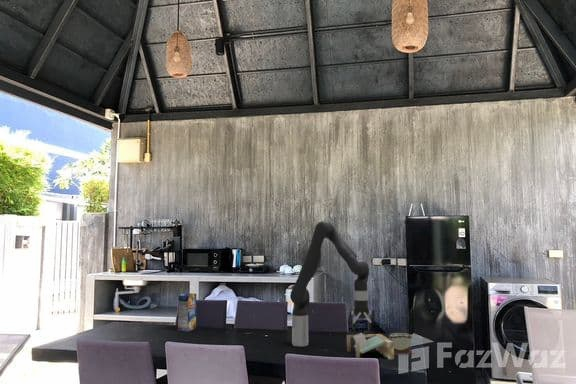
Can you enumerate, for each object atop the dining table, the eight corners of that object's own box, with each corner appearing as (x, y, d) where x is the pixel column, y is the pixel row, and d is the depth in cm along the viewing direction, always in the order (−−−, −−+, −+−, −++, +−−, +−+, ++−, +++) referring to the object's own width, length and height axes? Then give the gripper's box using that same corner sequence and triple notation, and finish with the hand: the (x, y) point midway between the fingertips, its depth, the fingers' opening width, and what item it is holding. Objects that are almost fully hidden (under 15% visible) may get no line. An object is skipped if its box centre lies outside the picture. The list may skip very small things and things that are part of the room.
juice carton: (186, 327, 304) (187, 293, 307) (195, 328, 303) (196, 293, 305) (177, 331, 293) (178, 295, 296) (187, 331, 291) (188, 295, 294)
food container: (409, 351, 236) (408, 332, 237) (412, 354, 230) (411, 334, 231) (386, 351, 236) (386, 332, 237) (390, 354, 230) (389, 335, 231)
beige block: (359, 349, 226) (355, 338, 227) (357, 347, 231) (353, 336, 232) (368, 345, 227) (364, 334, 227) (365, 343, 232) (361, 332, 232)
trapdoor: (361, 353, 222) (360, 352, 222) (354, 347, 235) (353, 345, 235) (385, 342, 224) (384, 341, 224) (377, 337, 237) (376, 335, 238)
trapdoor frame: (356, 360, 218) (356, 343, 219) (346, 350, 238) (346, 334, 239) (394, 359, 220) (393, 342, 221) (381, 349, 240) (380, 333, 241)
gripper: (349, 300, 227) (350, 331, 225) (375, 299, 229) (376, 331, 227) (346, 298, 235) (346, 329, 233) (371, 297, 236) (372, 328, 234)
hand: (361, 330), depth 230 cm, fingers open, 8 cm apart
